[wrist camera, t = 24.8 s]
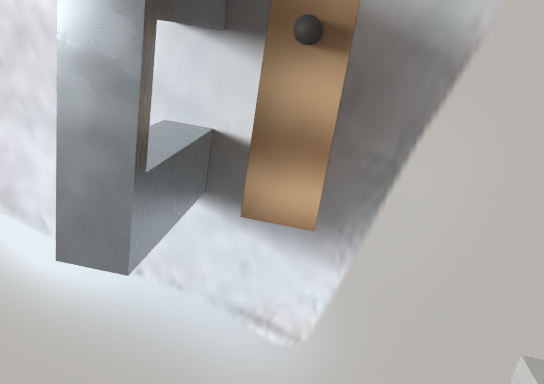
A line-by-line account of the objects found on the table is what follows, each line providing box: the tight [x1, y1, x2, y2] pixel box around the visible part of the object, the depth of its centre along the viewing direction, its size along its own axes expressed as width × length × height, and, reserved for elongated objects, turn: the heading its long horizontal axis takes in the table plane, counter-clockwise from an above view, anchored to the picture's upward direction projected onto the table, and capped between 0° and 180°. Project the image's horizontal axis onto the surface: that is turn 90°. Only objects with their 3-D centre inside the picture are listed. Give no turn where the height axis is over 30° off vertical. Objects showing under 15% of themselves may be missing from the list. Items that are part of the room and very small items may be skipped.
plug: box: [241, 0, 360, 231], centre depth 30 cm, size 13×4×12 cm, turn 171°
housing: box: [56, 0, 227, 276], centre depth 29 cm, size 4×18×15 cm, turn 171°
